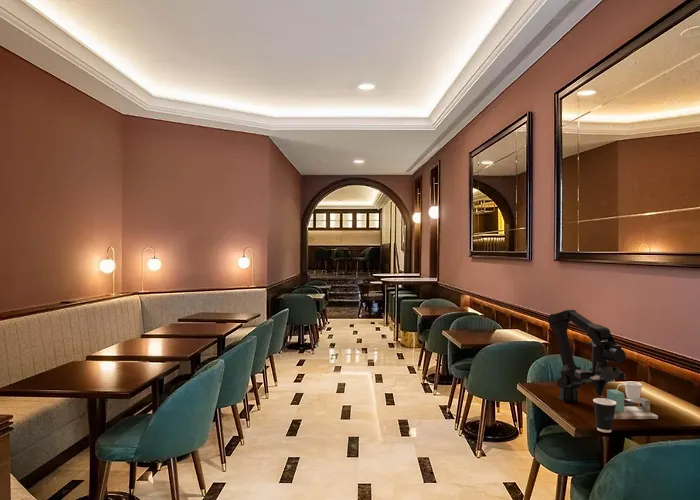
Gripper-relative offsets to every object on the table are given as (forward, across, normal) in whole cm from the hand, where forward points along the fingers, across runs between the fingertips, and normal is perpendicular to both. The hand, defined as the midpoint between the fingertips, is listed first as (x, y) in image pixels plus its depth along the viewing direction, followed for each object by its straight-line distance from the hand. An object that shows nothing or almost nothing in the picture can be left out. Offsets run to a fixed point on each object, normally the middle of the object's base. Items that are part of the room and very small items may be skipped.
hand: (599, 395), depth 208 cm
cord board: (+8, +12, 0) cm, 14 cm away
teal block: (+6, +7, 0) cm, 9 cm away
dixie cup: (+8, -8, -19) cm, 22 cm away
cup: (+8, +23, +17) cm, 30 cm away
